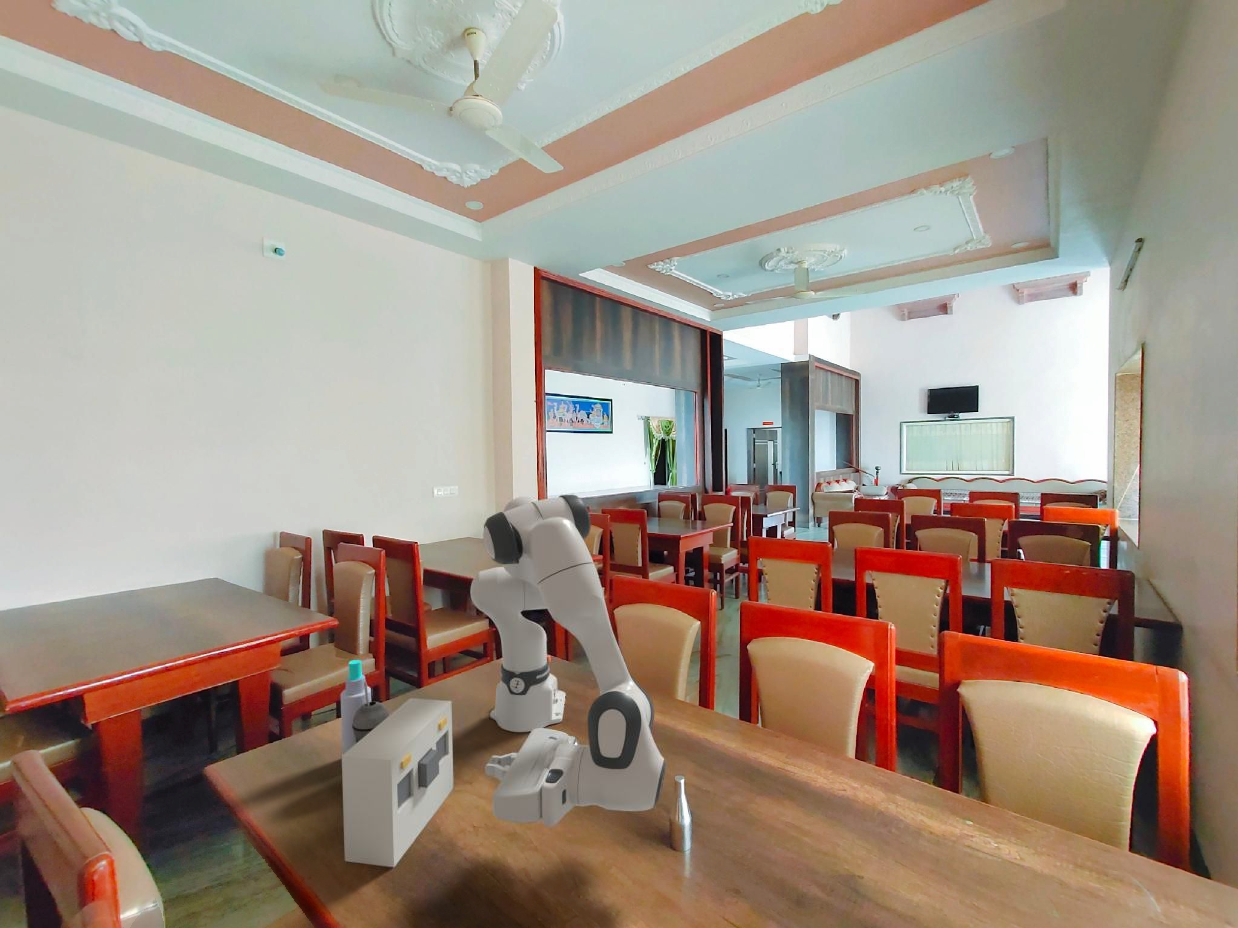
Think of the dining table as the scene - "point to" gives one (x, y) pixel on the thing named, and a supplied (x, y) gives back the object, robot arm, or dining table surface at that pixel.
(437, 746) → the key
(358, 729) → the beverage cup
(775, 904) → the dining table surface
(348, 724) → the spray bottle
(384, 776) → the key panel
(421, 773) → the key middle
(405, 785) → the key
